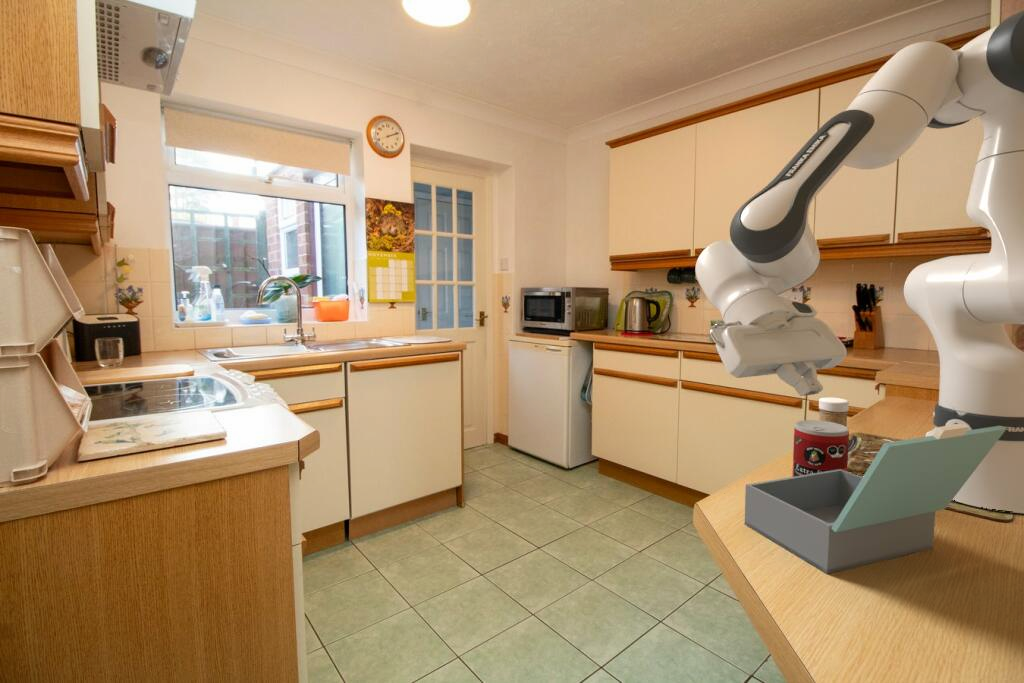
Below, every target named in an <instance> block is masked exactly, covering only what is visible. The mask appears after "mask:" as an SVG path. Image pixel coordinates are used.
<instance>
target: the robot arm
mask: <svg viewBox="0 0 1024 683" xmlns="http://www.w3.org/2000/svg"><path fill="white" fill-rule="evenodd" d="M976 118H979V119H980V121H981V123H982V124H981V125H982V128H983V141H982V143H981V147H980V149H979V153H978V156H977V160H976V164H975V168H974V172H973V176H972V180H971V184H970V188H969V193H968V197H967V201H966V205H965V212H966V215H967V217H968V218H969V219H970V220H971V221H972V222H973V223H975V224H976V225H978V226H980V227H982V228H984V229H987V230H988V231H989V233H990V238H991V245H990V246H991V247H990V251H989V252H986V253H983V252H982V253H971V254H961V255H959V254H958V255H951V256H945V257H941V258H938V259H934V260H930V261H928V262H925V263H921V264H919V265H917V266H916V267H915V268H913V269H912V270H911V272H910V273H909V274H908V275H907V277H906V279H905V282H904V286H903V295H904V296H903V297H904V300H905V302H906V304H907V306H908V307H909V308H910V310H911V311H912V312H914V313H915V314H916V315H918V316H919V317H920V318H921V320H923V322H924V323H925V324H926V326H927V328H928V330H929V331H930V333H931V336H932V338H933V341H934V342H935V346H936V350H937V352H938V359H939V390H938V402H937V403H935V404H934V409H933V412H932V413H933V414H932V416H933V420H932V421H933V425H934V428H933V429H931V430H929V431H927V432H926V434H925V437H927V436H933V434H934V433H935V431H936V430H937V428H938V427H942V426H949V425H956V424H963V423H964V424H966V425H967V426H969V429H968V430H974V429H981V428H988V427H995V426H1002V427H1004V428H1006V430H1005V432H1004V433H1003V434H1002V436H1001V437H1000V438H999V439H998V441H997V442H996V443H995V445H994V446H993V447H992V449H991V450H990V451H989V452H988V454H987V455H986V456H985V458H984V459H983V460H982V462H981V463H980V464H979V466H978V467H977V468H976V469H975V471H974V472H973V473H972V475H971V476H970V477H969V479H968V480H967V481H966V483H965V484H964V485H963V486H962V488H961V489H960V490H959V492H958V493H957V494H956V496H955V497H954V498H953V500H952V501H954V500H955V501H954V502H958V503H962V504H965V505H968V506H973V507H977V508H981V507H983V508H982V509H986V508H987V510H992V509H996V510H995V511H998V510H1012V511H1013V512H1012V513H1017V514H1024V351H1023V350H1022V349H1019V348H1018V347H1016V345H1014V343H1013V342H1012V341H1011V339H1010V338H1009V336H1008V334H1007V332H1006V329H1005V325H1004V324H1010V325H1011V324H1013V325H1024V9H1023V10H1020V11H1018V12H1016V13H1014V14H1012V15H1011V16H1009V17H1006V18H1005V19H1004V20H1003V21H1002V22H1000V23H999V24H998V25H996V26H994V27H991V28H990V29H988V30H986V31H985V32H983V33H981V34H979V35H977V36H976V37H975V38H973V39H971V40H970V41H968V42H967V43H966V44H965V43H964V45H963V46H962V47H960V49H958V50H955V51H954V50H953V49H952V48H951V47H950V46H948V45H946V44H944V43H941V42H938V41H931V40H929V41H927V40H926V41H919V42H914V43H911V44H908V45H906V46H905V47H903V48H902V49H900V50H898V51H897V52H896V53H895V54H894V55H893V56H892V57H891V58H890V59H888V60H887V61H886V62H885V63H884V64H883V65H882V66H881V67H880V68H879V69H878V70H877V72H876V73H875V74H873V76H872V77H871V78H870V79H869V80H868V81H867V83H866V84H865V85H864V86H863V88H862V89H861V90H860V91H859V92H858V93H857V94H856V96H855V97H854V99H853V100H852V101H851V103H850V104H849V105H848V107H847V108H846V109H845V110H843V111H841V112H839V113H837V114H835V115H834V116H832V117H831V118H830V119H829V120H827V121H826V122H825V123H824V124H823V125H822V126H821V127H820V128H819V129H818V130H817V131H816V132H815V133H814V134H813V135H812V136H811V138H809V139H808V140H807V142H805V144H804V145H803V146H802V147H801V148H800V149H799V150H798V152H796V154H795V155H794V156H793V157H792V158H791V159H790V160H789V161H788V163H787V164H786V165H785V166H784V167H783V168H782V169H781V171H780V172H779V173H778V174H777V175H776V176H775V177H774V178H773V179H772V180H771V181H770V182H769V183H768V184H767V185H766V186H765V187H763V188H762V189H761V190H760V191H758V192H757V193H756V194H754V195H753V196H752V197H751V198H749V199H747V201H745V202H744V203H743V204H742V205H741V206H740V207H739V208H738V210H737V211H736V212H735V214H734V215H733V218H732V219H731V223H730V226H729V237H730V241H729V240H718V241H714V242H713V243H711V244H709V245H708V246H706V248H704V249H703V251H702V252H700V254H699V256H698V258H697V260H696V263H695V270H694V272H695V276H696V280H697V282H698V284H699V286H700V288H701V289H702V291H703V293H704V295H705V296H706V298H707V299H708V301H709V302H710V304H711V305H712V306H713V307H714V308H715V309H717V310H718V311H719V313H720V315H721V318H722V321H723V323H722V322H717V323H714V324H713V326H712V327H711V328H710V329H709V335H710V337H711V338H712V340H713V341H714V343H715V347H716V350H717V354H718V355H719V358H720V359H721V362H722V364H723V365H724V367H725V369H726V371H727V372H728V374H730V375H731V376H733V377H735V378H737V379H741V378H751V377H759V376H760V377H761V376H770V375H777V376H778V378H779V379H780V380H781V381H783V382H784V383H786V384H787V385H789V386H790V387H792V388H794V390H795V391H796V393H797V394H798V395H799V396H800V397H804V396H812V395H818V394H820V393H821V392H822V391H823V390H824V386H823V384H822V383H821V382H820V381H819V380H818V374H817V370H825V369H833V368H835V367H837V365H838V364H840V363H841V362H842V361H843V360H845V359H846V357H847V354H848V353H847V348H846V346H845V345H844V343H843V342H842V340H841V339H840V338H839V337H838V336H837V334H836V333H835V332H834V331H833V330H832V329H831V327H830V326H829V325H827V324H826V323H825V322H824V321H823V320H821V319H820V318H818V317H816V316H817V314H818V311H817V310H816V308H815V307H814V306H813V305H811V304H809V303H803V302H799V301H794V300H791V299H789V298H786V297H784V296H780V294H782V293H785V292H787V291H789V290H791V289H794V288H795V287H798V286H799V285H802V284H804V283H806V282H807V281H808V280H809V279H811V278H812V276H814V274H815V273H816V272H817V270H818V269H819V267H820V264H821V257H822V256H821V252H820V249H819V247H818V246H819V245H818V244H817V240H816V238H815V236H814V234H813V232H812V230H811V227H810V225H809V212H810V209H811V208H810V207H811V204H812V202H813V201H814V199H815V198H816V197H817V196H818V195H819V194H820V193H821V191H822V190H823V189H824V188H825V187H826V186H827V184H829V182H830V181H831V180H832V179H833V178H834V177H835V176H836V174H838V172H839V171H840V170H841V169H842V168H843V167H844V166H846V167H849V168H853V169H857V170H858V169H859V170H873V169H874V170H875V169H879V168H883V167H887V166H890V165H891V164H894V163H895V162H896V161H897V160H899V159H900V157H903V155H904V154H905V153H906V152H908V150H910V148H911V147H913V145H914V144H915V142H916V141H918V139H919V137H920V136H921V135H922V134H923V132H924V131H925V129H926V128H930V129H936V130H938V129H939V130H941V129H942V130H943V129H949V128H952V127H957V126H960V125H961V126H962V125H963V124H966V123H968V122H970V121H972V120H973V119H976ZM968 430H967V431H968Z"/></svg>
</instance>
